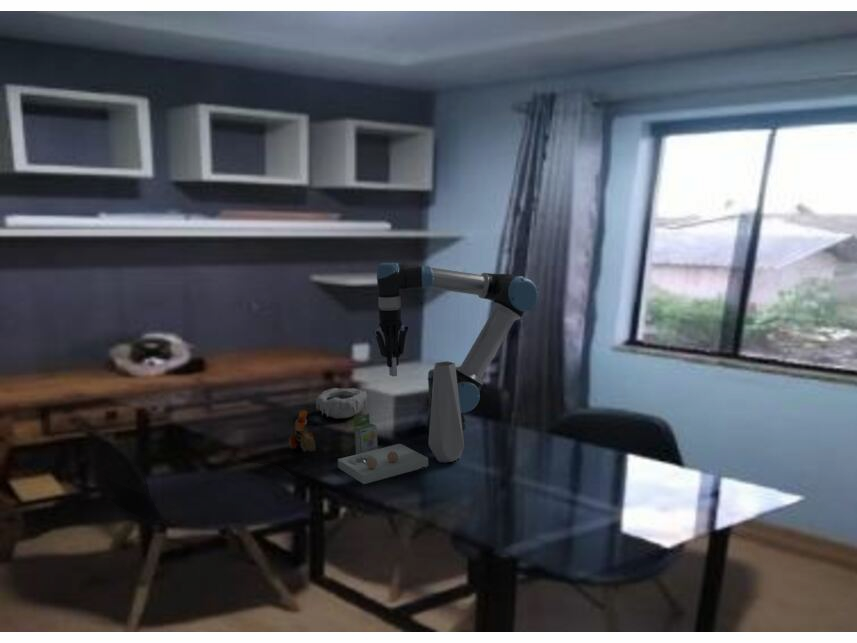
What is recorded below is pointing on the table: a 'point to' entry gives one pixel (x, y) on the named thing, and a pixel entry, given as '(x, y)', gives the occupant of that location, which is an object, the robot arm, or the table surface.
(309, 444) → the toy helicopter
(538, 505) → the table surface
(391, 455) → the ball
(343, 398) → the bowl
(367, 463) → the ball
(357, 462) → the steel ball
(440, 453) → the vase
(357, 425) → the ink box
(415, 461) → the white tray
